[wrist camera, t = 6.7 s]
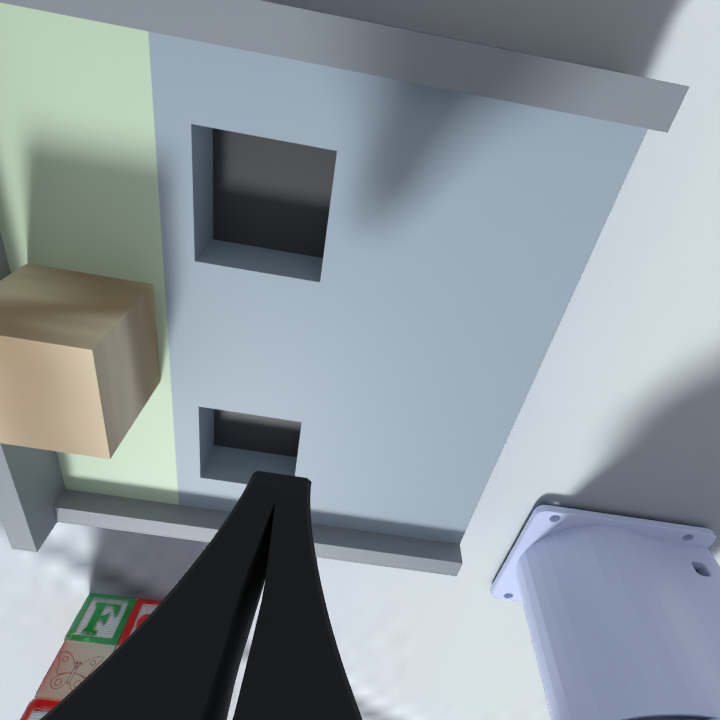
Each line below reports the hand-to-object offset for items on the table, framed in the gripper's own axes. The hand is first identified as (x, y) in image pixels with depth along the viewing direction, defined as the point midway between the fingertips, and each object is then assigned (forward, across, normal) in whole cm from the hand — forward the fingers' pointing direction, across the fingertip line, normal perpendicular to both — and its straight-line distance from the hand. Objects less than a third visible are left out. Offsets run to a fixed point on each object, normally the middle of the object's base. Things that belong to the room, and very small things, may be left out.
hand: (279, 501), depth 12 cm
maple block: (+6, +7, 0) cm, 10 cm away
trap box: (+9, +1, 0) cm, 9 cm away
